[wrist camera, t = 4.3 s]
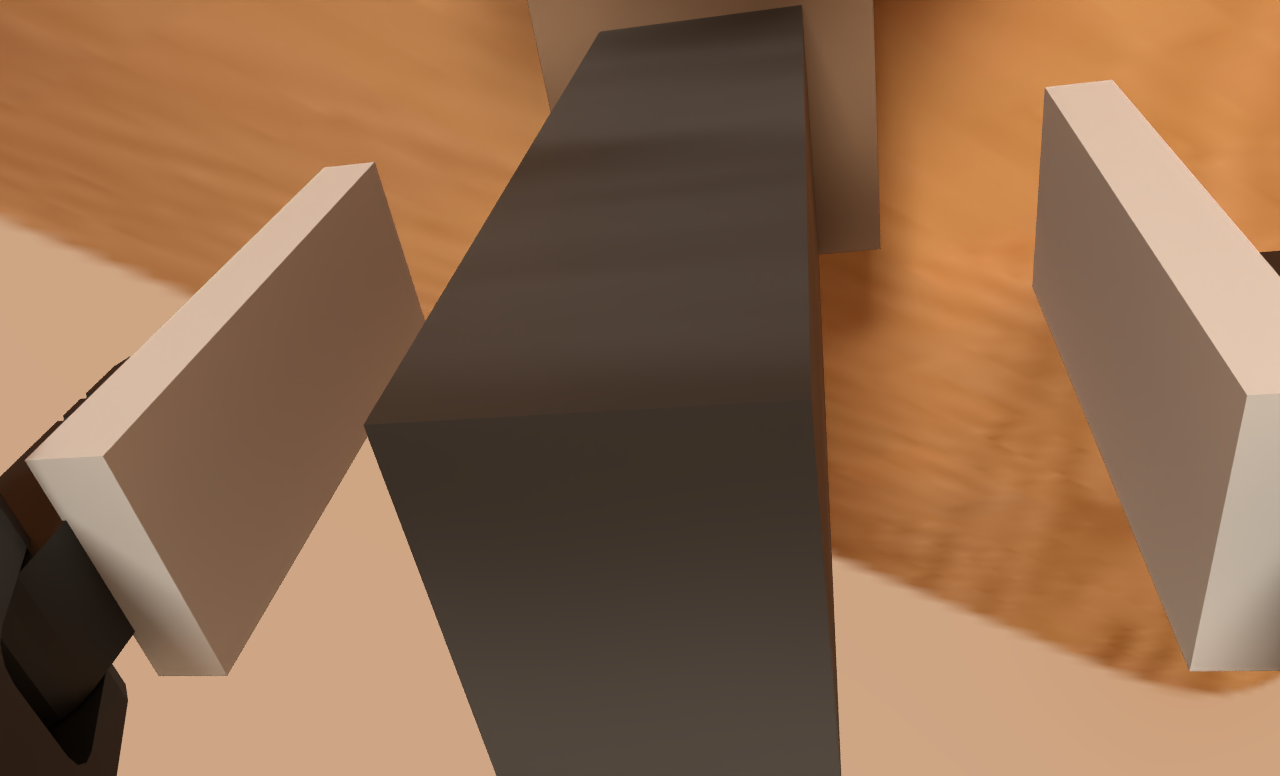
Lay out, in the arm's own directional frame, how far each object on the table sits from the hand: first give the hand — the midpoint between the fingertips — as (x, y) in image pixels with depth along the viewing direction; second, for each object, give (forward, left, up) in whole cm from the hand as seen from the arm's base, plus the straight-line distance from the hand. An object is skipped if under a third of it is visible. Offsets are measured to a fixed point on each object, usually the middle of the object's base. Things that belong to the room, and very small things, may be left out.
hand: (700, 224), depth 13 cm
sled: (0, +5, -4) cm, 6 cm away
